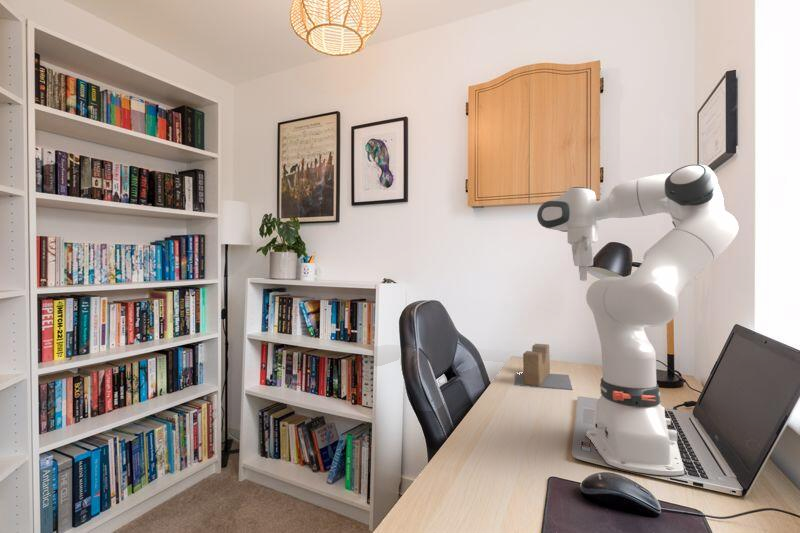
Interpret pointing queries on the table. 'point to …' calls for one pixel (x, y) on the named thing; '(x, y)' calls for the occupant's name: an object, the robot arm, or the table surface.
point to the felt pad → (548, 381)
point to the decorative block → (536, 364)
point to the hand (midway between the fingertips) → (583, 280)
